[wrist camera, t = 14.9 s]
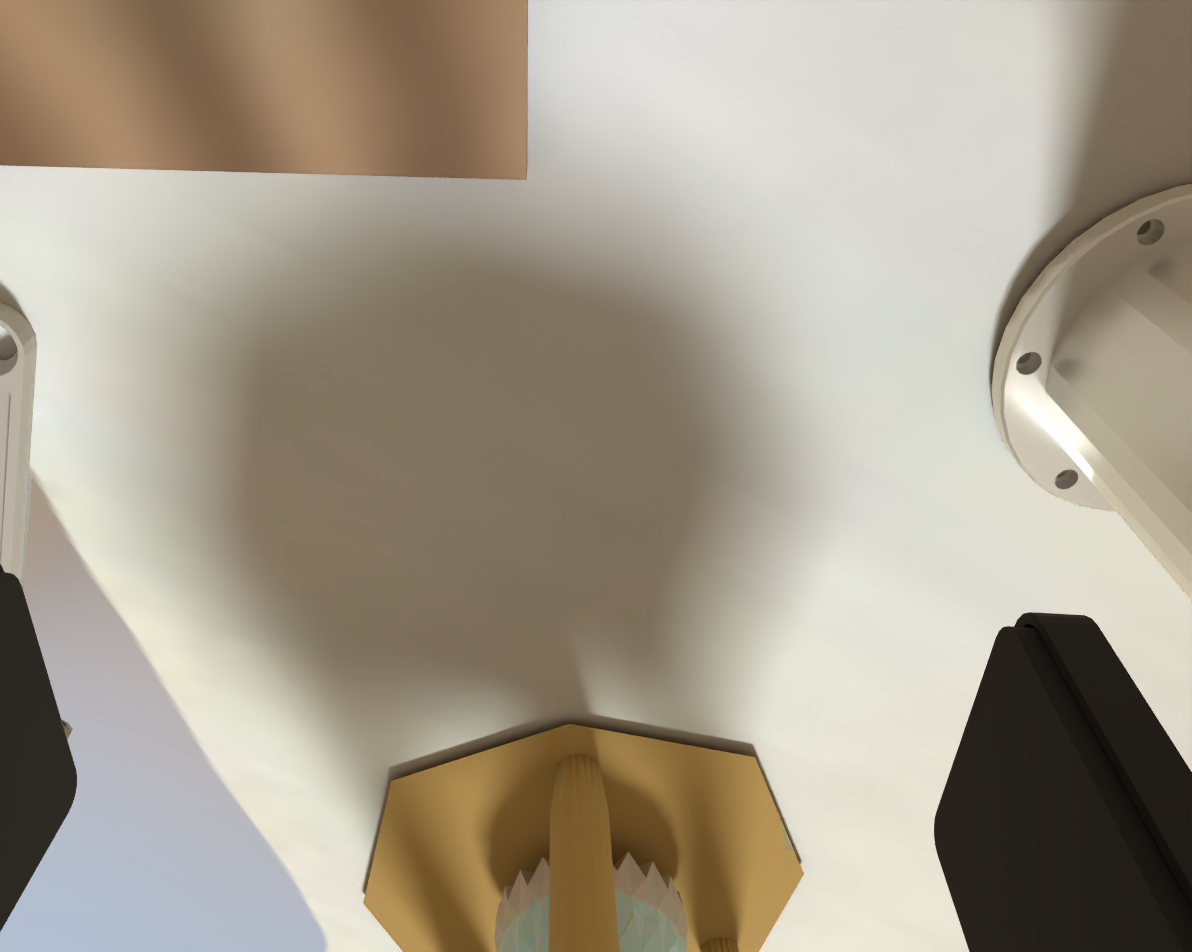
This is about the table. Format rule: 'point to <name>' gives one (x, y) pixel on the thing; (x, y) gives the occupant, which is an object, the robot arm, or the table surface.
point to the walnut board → (267, 86)
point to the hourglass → (583, 850)
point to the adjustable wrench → (16, 444)
